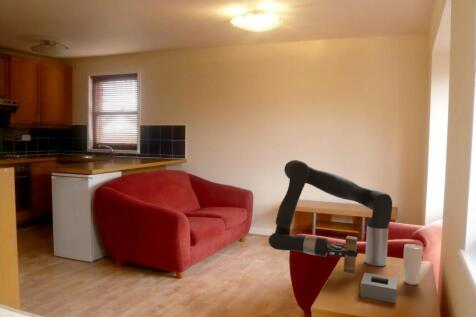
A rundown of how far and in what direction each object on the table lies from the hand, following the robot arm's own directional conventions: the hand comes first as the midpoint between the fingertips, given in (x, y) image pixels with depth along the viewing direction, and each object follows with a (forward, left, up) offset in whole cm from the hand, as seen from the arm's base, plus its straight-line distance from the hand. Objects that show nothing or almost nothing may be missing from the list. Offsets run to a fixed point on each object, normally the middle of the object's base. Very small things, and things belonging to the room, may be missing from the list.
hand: (357, 252), depth 156 cm
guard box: (+10, +9, -11) cm, 18 cm away
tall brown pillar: (0, -3, -8) cm, 9 cm away
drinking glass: (-8, +20, -11) cm, 25 cm away
